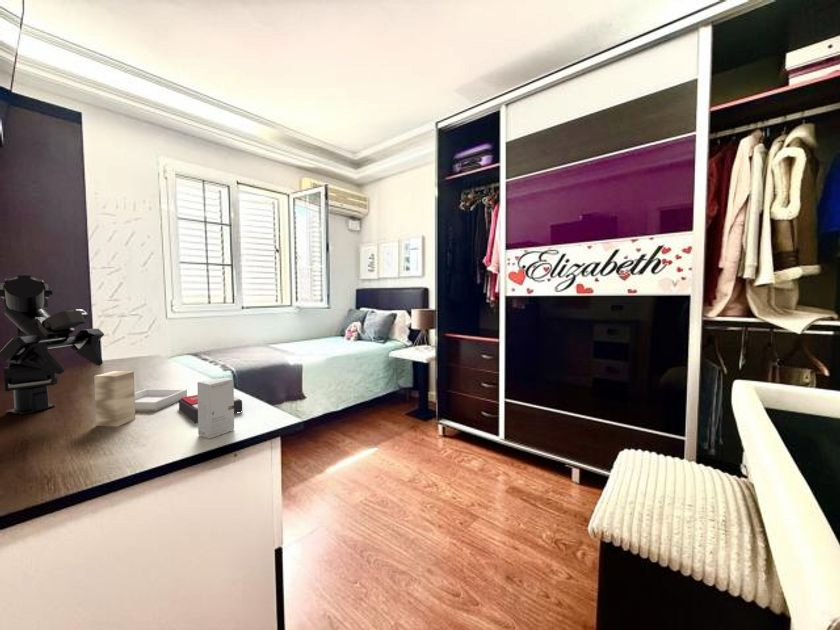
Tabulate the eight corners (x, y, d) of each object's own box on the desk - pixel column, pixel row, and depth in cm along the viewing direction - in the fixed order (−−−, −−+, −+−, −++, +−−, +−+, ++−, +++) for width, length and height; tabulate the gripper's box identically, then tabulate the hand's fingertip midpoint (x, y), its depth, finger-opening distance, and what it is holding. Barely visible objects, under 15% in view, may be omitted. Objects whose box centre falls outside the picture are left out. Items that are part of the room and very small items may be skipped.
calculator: (222, 389, 100) (242, 397, 90) (223, 403, 100) (243, 413, 90) (178, 396, 92) (194, 406, 82) (178, 412, 92) (195, 424, 82)
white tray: (109, 410, 90) (109, 401, 90) (146, 396, 102) (146, 388, 102) (155, 411, 90) (154, 402, 89) (187, 397, 102) (186, 389, 102)
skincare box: (210, 439, 73) (208, 384, 73) (196, 435, 75) (195, 382, 74) (235, 429, 79) (235, 378, 78) (223, 426, 81) (222, 376, 80)
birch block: (96, 426, 80) (94, 375, 79) (115, 418, 85) (113, 371, 84) (117, 426, 80) (115, 376, 79) (135, 418, 85) (133, 371, 84)
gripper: (9, 299, 71) (63, 351, 72) (95, 298, 90) (138, 340, 90) (-25, 335, 72) (29, 387, 72) (67, 327, 90) (110, 368, 91)
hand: (82, 368), depth 81 cm, fingers open, 9 cm apart
